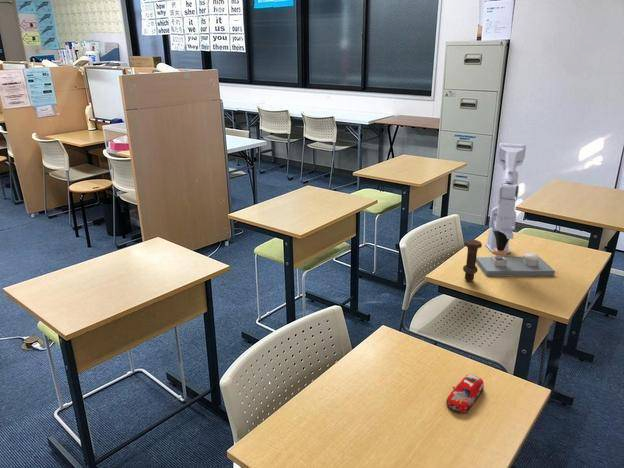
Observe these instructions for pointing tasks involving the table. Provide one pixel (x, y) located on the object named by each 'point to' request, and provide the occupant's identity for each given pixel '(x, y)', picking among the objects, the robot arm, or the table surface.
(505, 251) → the terracotta plunger
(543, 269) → the press plate
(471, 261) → the bolt
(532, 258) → the grey plunger
